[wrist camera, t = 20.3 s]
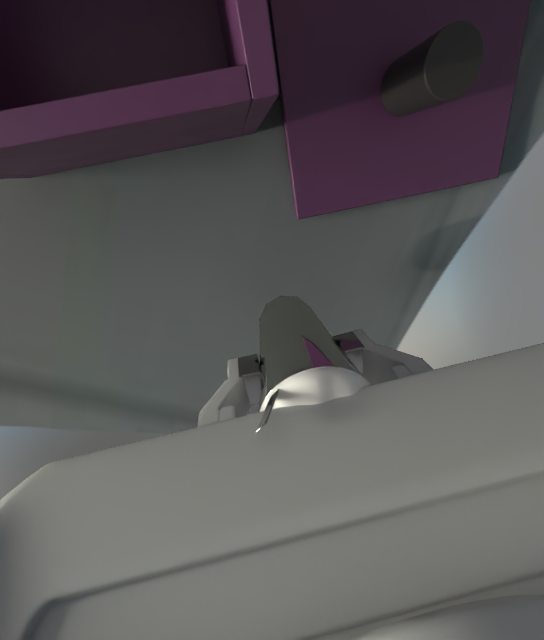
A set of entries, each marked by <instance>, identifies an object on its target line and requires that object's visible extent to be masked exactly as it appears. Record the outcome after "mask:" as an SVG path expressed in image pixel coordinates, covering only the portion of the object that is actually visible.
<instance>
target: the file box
mask: <svg viewBox="0 0 544 640" xmlns="http://www.w3.org/2000/svg"><path fill="white" fill-rule="evenodd" d="M278 95H279V86H278V79H277V71H276V64H275V56H274V48H273V41H272V33H271V25H270V18H269V10H268V2H267V0H0V179H4V178H31V177H36V176H41V175H47V174H52V173H57V172H62V171H67V170H72V169H77V168H82V167H87V166H92V165H97V164H102V163H107V162H112V161H117V160H122V159H127V158H132V157H137V156H142V155H147V154H152V153H158V152H163V151H168V150H173V149H178V148H183V147H188V146H193V145H198V144H203V143H208V142H213V141H218V140H223V139H228V138H233V137H238V136H243V135H248V134H253V133H255V132H256V130H257V129H258V127H259V126H260V124H261V122H262V121H263V119H264V118H265V116H266V114H267V113H268V111H269V110H270V108H271V106H272V105H273V103H274V102H275V100H276V98H277V97H278Z"/></svg>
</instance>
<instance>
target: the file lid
mask: <svg viewBox="0 0 544 640" xmlns="http://www.w3.org/2000/svg"><path fill="white" fill-rule="evenodd" d="M530 1H531V0H268V6H269V14H270V21H271V29H272V37H273V44H274V52H275V60H276V68H277V75H278V83H279V91H280V98H281V106H282V114H283V122H284V129H285V137H286V145H287V152H288V160H289V168H290V176H291V183H292V191H293V199H294V206H295V214H296V218H297V219H302V218H307V217H311V216H316V215H321V214H326V213H331V212H335V211H340V210H345V209H350V208H355V207H359V206H364V205H369V204H374V203H379V202H383V201H388V200H393V199H398V198H403V197H408V196H412V195H417V194H422V193H427V192H432V191H436V190H441V189H446V188H451V187H456V186H460V185H465V184H470V183H475V182H480V181H484V180H489V179H494V178H498V176H499V171H500V165H501V160H502V154H503V149H504V143H505V138H506V132H507V127H508V121H509V116H510V111H511V105H512V100H513V94H514V89H515V83H516V78H517V72H518V67H519V61H520V56H521V50H522V45H523V39H524V34H525V28H526V23H527V17H528V12H529V7H530Z"/></svg>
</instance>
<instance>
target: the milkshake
mask: <svg viewBox="0 0 544 640" xmlns="http://www.w3.org/2000/svg"><path fill="white" fill-rule="evenodd" d="M259 338H260V387H259V412H262V411H264V413H263V416H262V418H261V420H260V423H259V425H258V428H257V430H256V432H259V431H260V430H261V429H262V428H263V427H264V426H265V425H266V424H267V422H268V420H269V417H270V414H271V411H272V409H274V408H279V407H288V406H295V405H314V404H320V403H324V402H327V401H330V400H332V399H336V398H340V397H345V396H350V395H353V394H355V393H356V392H358V391H359V390H360V389H361V388H362V387H365V386H369V385H371V384H370V383H369V382H368V381H367V380H366V378H365V377H364V376H363V375H362V373H361V372H360V371H359V370H358V368H357V367H356V366H355V365H354V364H353V362H352V361H351V360H350V359H349V357H348V356H347V355H346V354H345V353H344V351H343V350H342V349H341V348H340V346H339V345H338V344H337V342H336V341H335V340H334V338H333V337H332V336H331V334H330V333H329V332H328V330H327V329H326V328H325V326H324V325H323V323H322V322H321V321H320V319H319V318H318V317H317V315H316V314H315V313H314V311H313V310H312V309H311V307H310V306H309V305H307V304H306V303H305V302H304V301H302V300H301V299H300V298H299V297H298V296H279V297H277V298H276V299H274V300H272V301H270V302H269V303H267V304H266V305H265V307H264V310H263V312H262V314H261V316H260V318H259Z"/></svg>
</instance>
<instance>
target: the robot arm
mask: <svg viewBox="0 0 544 640" xmlns="http://www.w3.org/2000/svg"><path fill="white" fill-rule="evenodd" d="M333 338H334V340H335V341H336V342H337V344H338V345H339V346H340V348H341V349H342V350H343V351H344V353H345V354H346V355H347V356H348V357H349V359H350V360H351V361H352V362H353V364H354V365H355V366H356V367H357V368H358V370H359V371H360V372H361V373H362V375H363V376H364V377H365V378H366V380H367V381H368V382H369V383H371V384H373V385H369V386H365V387H362V388H361V389H360V390H359V391H358V392H356V393H355V394H353V395H350V396H345V397H340V398H336V399H332V400H330V401H327V402H324V403H320V404H314V405H295V406H288V407H279V408H274V409H272V411H271V414H270V417H269V420H268V422H267V424H266V425H265V426H264V427H263V428H262V429H261V430H260V431H259V432H256V430H257V428H258V425H259V423H260V420H261V418H262V416H263V413H264V411H262V412H258V413H254V414H250V415H247V413H248V411H249V409H250V407H251V405H254V404H258V403H259V387H260V364H259V359H258V355H257V354H254V355H249V356H244V357H240V358H235V359H231V360H228V380H226V381H225V382H224V383H223V384H222V385H221V386H220V388H219V389H218V390H217V391H216V393H215V394H214V395H213V396H212V397H211V399H210V400H209V401H208V402H207V403H206V405H205V406H204V407H203V408H202V409H201V411H200V412H199V419H198V427H196V428H192V429H188V430H184V431H180V432H175V433H171V434H167V435H163V436H159V437H155V438H151V439H147V440H143V441H138V442H134V443H130V444H126V445H122V446H118V447H114V448H110V449H106V450H101V451H98V452H93V453H89V454H85V455H81V456H77V457H72V458H68V459H63V460H59V461H56V462H52V463H49V464H47V465H45V466H43V467H42V468H41V469H39V470H38V471H36V472H35V473H34V474H32V475H31V476H29V477H28V478H27V479H25V480H24V481H23V482H22V483H20V484H19V485H18V486H17V487H16V488H14V489H13V490H12V491H10V492H9V493H8V494H7V495H5V496H4V497H3V498H2V499H1V500H0V640H544V343H542V344H538V345H534V346H529V347H526V348H521V349H517V350H513V351H509V352H505V353H501V354H497V355H493V356H488V357H484V358H481V359H476V360H472V361H468V362H464V363H460V364H455V365H451V366H448V367H443V368H439V369H435V370H433V369H432V368H431V367H430V366H429V365H428V364H427V363H426V362H425V361H424V360H423V359H422V358H419V357H415V356H412V355H409V354H406V353H403V352H400V351H397V350H394V349H391V348H388V347H385V346H382V345H379V344H378V345H375V344H374V342H373V341H372V340H371V339H370V338H369V337H368V336H367V334H366V333H365V332H364V331H363V330H362V329H359V330H355V331H351V332H348V333H344V334H340V335H336V336H333Z"/></svg>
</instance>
